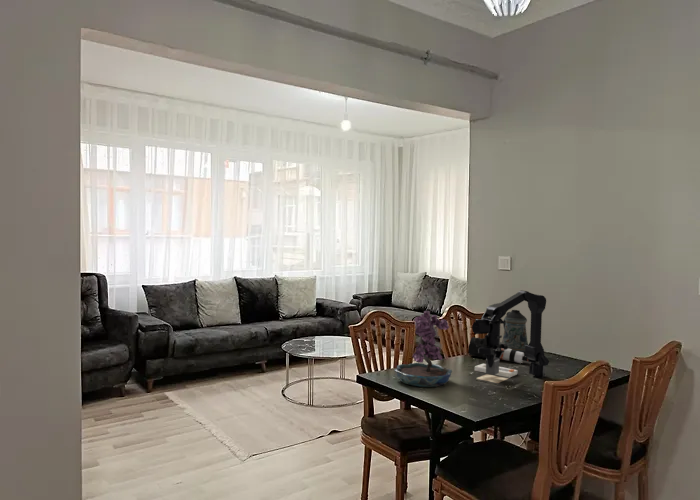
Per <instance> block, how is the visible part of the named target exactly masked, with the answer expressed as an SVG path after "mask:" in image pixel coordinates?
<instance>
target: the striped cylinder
mask: <svg viewBox="0 0 700 500" xmlns="http://www.w3.org/2000/svg"><path fill="white" fill-rule="evenodd" d="M475 338H476V337H474V336H472V337H471V338H470V340H469V343H468V351H467V352H468V355H469V356H474V357H478V358H481V357H482V358H481V359H485V358H486V356H485V355H484V354H482V353H478V348H480V347H482V346H484V345H482V346H479V347H477V345H476V344H474V342H475ZM487 347H488V346H487ZM501 350H503V351H504V352H503V354H502V356H501V357H500V359H499V360H502V361H508V362H512V363H518V364H521V363H522V364H523V363H524V362H528V359H527V357H525V356H524V353H523V352H519V351H516V350H512V349H506V350H504V348H501Z"/></svg>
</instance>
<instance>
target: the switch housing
mask: <svg viewBox="0 0 700 500" xmlns="http://www.w3.org/2000/svg"><path fill="white" fill-rule="evenodd" d="M474 372H478V373H479V372H480V373H485V374H488V375H490V374H489V373H486V363H481V364H478V365H475V366H474ZM492 375H493V376H498V377H503V378H508V379H509V378H511V377H514V376H517V375H518V369H513V368H509V367H508V368H507V367H503V366H499V373H497V374H495V375H494V374H492Z"/></svg>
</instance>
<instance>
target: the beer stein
mask: <svg viewBox="0 0 700 500" xmlns="http://www.w3.org/2000/svg"><path fill="white" fill-rule="evenodd" d="M502 320H503V321H504V322H505V323H503V324H502V326H503V335H502V340H501V342H502V343H506V344H507V345H508V349H512V350H516V351H519V352H523V353H524V356H526V354H525V346H526V345H528V344H529V342H528V334H527V327H526V326H527V325H526V323H527V322H528V319H527V317H526V316H525V315H523V314H522V313H521V312H520V310H517V309H511V311H507V312H506V314H505V316H504V319H502Z"/></svg>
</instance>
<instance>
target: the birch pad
mask: <svg viewBox="0 0 700 500" xmlns="http://www.w3.org/2000/svg"><path fill="white" fill-rule="evenodd" d="M475 378H476V379H475V381H476V382H481V383H483V381H484V383H485V384H490V385H495V386H497V384H500V383H501V382H504V381H507V380H509V378H508V377H503V376H498V375H493V374H488V373H485V374H484V375H481V376H478V377H475Z"/></svg>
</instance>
